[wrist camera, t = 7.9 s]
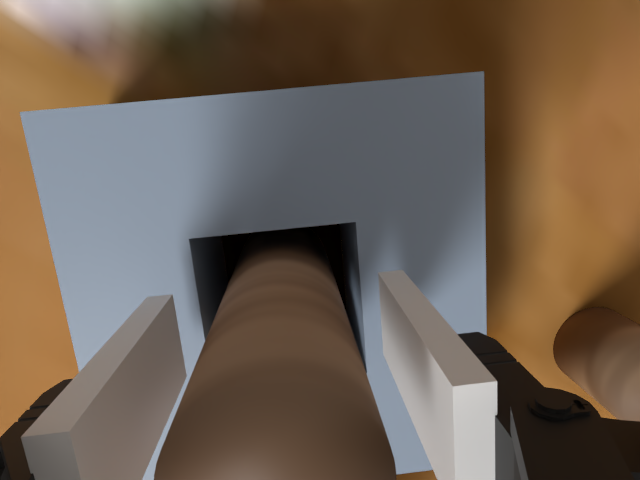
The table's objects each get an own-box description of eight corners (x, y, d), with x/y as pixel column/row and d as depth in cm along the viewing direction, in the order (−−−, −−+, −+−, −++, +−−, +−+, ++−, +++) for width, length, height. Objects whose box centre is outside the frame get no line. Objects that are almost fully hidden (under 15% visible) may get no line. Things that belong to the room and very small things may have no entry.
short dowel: (554, 311, 23) (626, 359, 18) (631, 302, 23) (724, 347, 18) (552, 384, 24) (620, 448, 19) (627, 375, 24) (714, 436, 19)
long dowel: (235, 224, 21) (133, 394, 7) (323, 215, 21) (389, 364, 7) (246, 307, 22) (175, 600, 8) (330, 298, 22) (402, 569, 8)
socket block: (101, 119, 19) (19, 111, 13) (427, 90, 20) (484, 71, 14) (157, 413, 22) (110, 510, 17) (437, 380, 23) (488, 463, 17)
